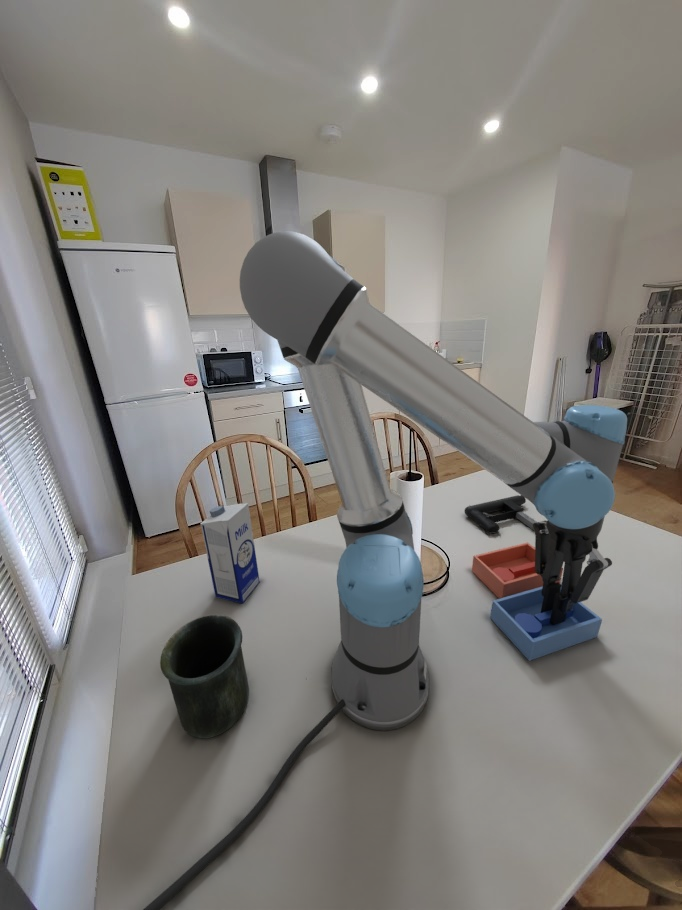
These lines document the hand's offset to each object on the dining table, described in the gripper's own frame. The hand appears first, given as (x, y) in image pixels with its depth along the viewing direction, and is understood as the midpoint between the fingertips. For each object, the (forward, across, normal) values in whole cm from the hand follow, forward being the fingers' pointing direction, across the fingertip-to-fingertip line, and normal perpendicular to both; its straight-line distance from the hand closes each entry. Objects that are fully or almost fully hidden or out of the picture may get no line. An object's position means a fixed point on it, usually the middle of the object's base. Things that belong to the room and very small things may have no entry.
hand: (552, 617), depth 65 cm
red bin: (+2, +13, -3) cm, 13 cm away
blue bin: (+2, 0, +2) cm, 3 cm away
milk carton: (+2, +29, +55) cm, 62 cm away
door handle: (+2, +32, -18) cm, 37 cm away
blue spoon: (0, 0, +2) cm, 2 cm away
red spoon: (+1, +13, -3) cm, 13 cm away
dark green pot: (+2, +6, +59) cm, 59 cm away
